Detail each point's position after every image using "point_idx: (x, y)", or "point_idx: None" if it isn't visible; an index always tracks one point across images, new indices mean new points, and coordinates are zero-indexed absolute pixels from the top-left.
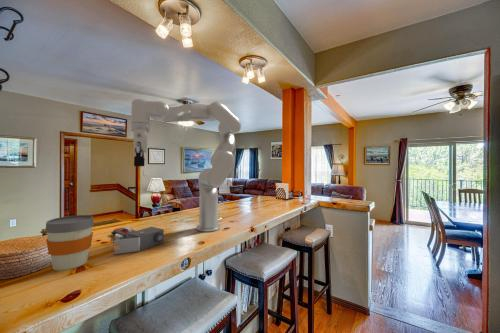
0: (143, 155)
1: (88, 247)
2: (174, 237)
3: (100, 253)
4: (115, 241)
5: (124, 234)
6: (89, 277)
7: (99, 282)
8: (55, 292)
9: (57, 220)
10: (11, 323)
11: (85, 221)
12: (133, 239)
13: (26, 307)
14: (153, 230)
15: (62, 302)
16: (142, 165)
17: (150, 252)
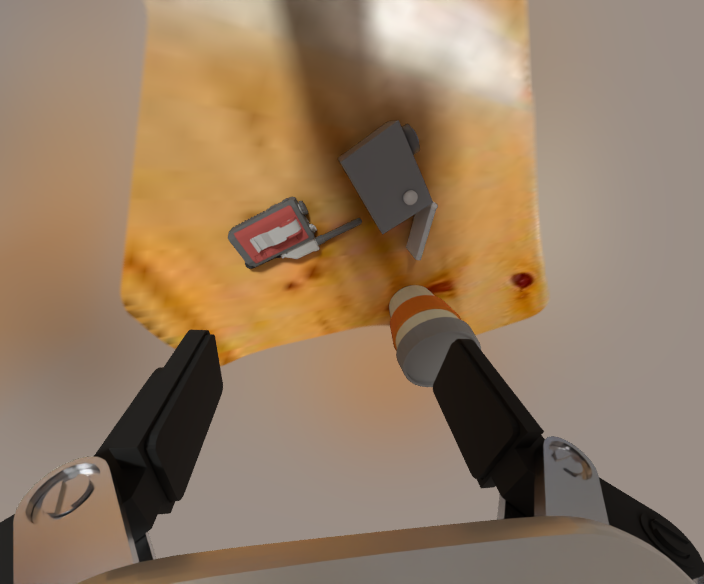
0: (125, 520)
1: (436, 297)
2: (358, 69)
3: (386, 271)
4: (420, 256)
5: (311, 237)
6: (484, 271)
7: (512, 256)
8: (497, 298)
9: (415, 377)
10: (532, 313)
11: (473, 335)
12: (432, 218)
13: (511, 312)
14: (393, 159)
15: (530, 285)
16: (464, 341)
17: (445, 171)
